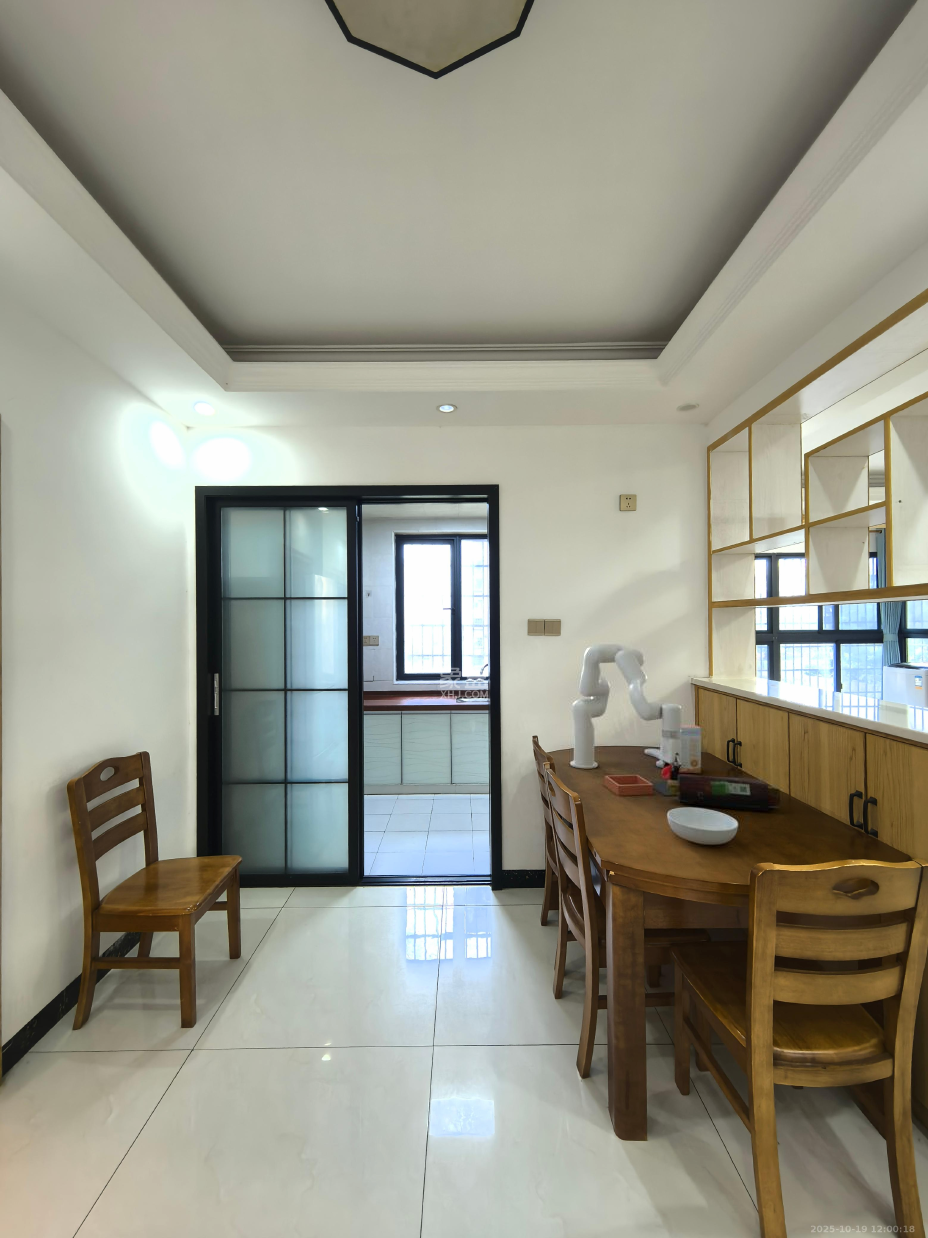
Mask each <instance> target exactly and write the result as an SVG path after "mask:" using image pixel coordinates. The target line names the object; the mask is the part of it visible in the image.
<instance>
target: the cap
mask: <svg viewBox="0 0 928 1238" xmlns="http://www.w3.org/2000/svg"><path fill="white" fill-rule="evenodd" d="M674 767H675V765H674ZM680 770H682V769H681V768H680ZM671 771H672V767H671V765H669V766H667V767H665V768H664V769H663V768H662V770H661V772H660V774H661V776H662V777H663V779H664V780H666V781H667V780H671Z"/></svg>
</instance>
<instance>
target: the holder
mask: <svg viewBox="0 0 928 1238" xmlns="http://www.w3.org/2000/svg"><path fill="white" fill-rule="evenodd" d="M644 754H645V755H646V756H649V757H653V758H656V759H658V760H657V761H656V763H655V765H656V767H658V768H661V769H663V767H664V766H663V761H662V759H661V758H660V749H659V748H658V749H657V748H646V749H644Z"/></svg>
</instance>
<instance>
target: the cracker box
mask: <svg viewBox="0 0 928 1238" xmlns="http://www.w3.org/2000/svg"><path fill="white" fill-rule="evenodd" d="M680 740H681V752H682V758H681V763H682V766H681V767H680V768H681V769H682V770H680V771H679V774H702V727H700V726H698V725H686V724H685V725H684V724H681V739H680ZM674 763H676V762H675V761H674Z"/></svg>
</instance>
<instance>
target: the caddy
mask: <svg viewBox="0 0 928 1238" xmlns="http://www.w3.org/2000/svg"><path fill="white" fill-rule="evenodd" d="M650 782H651V781H649V780H646V779H645V778H644V777H641V776H640V775H639V774H621V775H620V774H619V775H604V782H603V783H604V786H605V787H606V788H608V790H610V791H612V792H613V793H614V794H616V795H617V796H619V797H621V796H646V795H649V796H650V795H654V789H653V784H651V783H650Z"/></svg>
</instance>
